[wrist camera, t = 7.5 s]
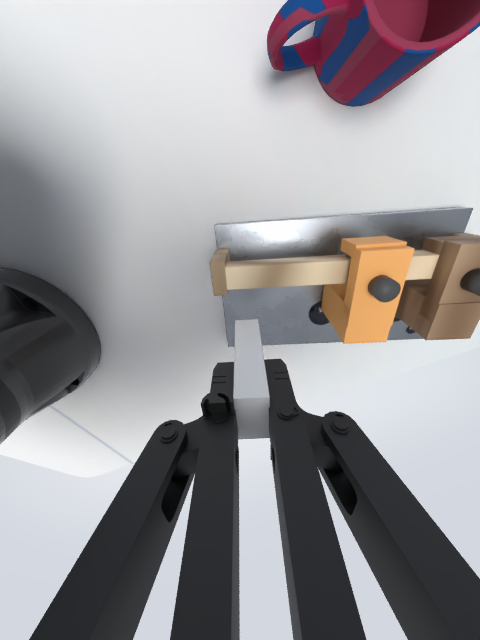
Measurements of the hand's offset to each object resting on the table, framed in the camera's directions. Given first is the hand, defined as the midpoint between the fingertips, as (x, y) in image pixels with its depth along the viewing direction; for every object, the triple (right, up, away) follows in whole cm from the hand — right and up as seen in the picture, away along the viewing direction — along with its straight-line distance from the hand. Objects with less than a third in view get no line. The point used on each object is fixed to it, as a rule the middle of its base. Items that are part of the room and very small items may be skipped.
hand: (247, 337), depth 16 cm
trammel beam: (+8, +5, +5) cm, 10 cm away
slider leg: (+8, +5, +5) cm, 11 cm away
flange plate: (+8, +5, +6) cm, 11 cm away
